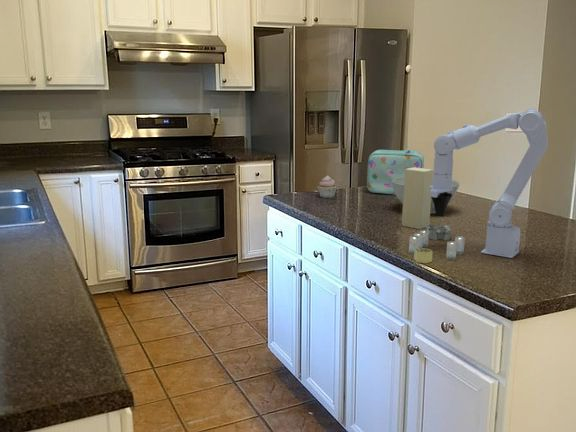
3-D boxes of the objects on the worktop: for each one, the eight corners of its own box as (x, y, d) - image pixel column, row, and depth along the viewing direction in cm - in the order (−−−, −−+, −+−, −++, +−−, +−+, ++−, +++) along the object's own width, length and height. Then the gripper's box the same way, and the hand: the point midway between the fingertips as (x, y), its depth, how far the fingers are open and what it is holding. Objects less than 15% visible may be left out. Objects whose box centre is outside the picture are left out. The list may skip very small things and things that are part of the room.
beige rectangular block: (431, 225, 209) (434, 169, 204) (420, 229, 204) (423, 171, 199) (411, 222, 214) (414, 166, 210) (401, 225, 209) (404, 169, 204)
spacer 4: (457, 258, 171) (458, 242, 169) (453, 260, 168) (455, 244, 167) (448, 256, 172) (449, 240, 171) (444, 258, 170) (445, 242, 169)
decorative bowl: (455, 220, 218) (457, 189, 215) (385, 215, 226) (386, 184, 223) (458, 206, 242) (460, 178, 240) (395, 202, 251) (396, 174, 248)
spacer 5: (464, 252, 176) (466, 237, 175) (461, 254, 174) (463, 239, 173) (456, 251, 178) (457, 235, 177) (452, 253, 175) (454, 237, 174)
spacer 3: (429, 245, 184) (430, 230, 183) (425, 247, 181) (426, 232, 180) (420, 244, 185) (421, 229, 184) (417, 246, 183) (418, 231, 182)
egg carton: (424, 232, 201) (425, 221, 200) (446, 233, 200) (447, 222, 199) (428, 240, 190) (429, 228, 190) (451, 241, 190) (452, 229, 189)
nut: (433, 259, 169) (434, 249, 168) (430, 264, 165) (431, 253, 164) (415, 257, 171) (416, 247, 171) (412, 261, 167) (412, 251, 167)
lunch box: (425, 193, 270) (428, 148, 266) (423, 197, 261) (426, 150, 256) (369, 190, 278) (371, 146, 274) (365, 194, 269) (367, 148, 264)
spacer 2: (423, 248, 180) (424, 233, 179) (420, 250, 178) (421, 235, 177) (415, 247, 182) (416, 232, 181) (411, 249, 179) (412, 234, 178)
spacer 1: (419, 252, 176) (420, 236, 175) (415, 254, 174) (416, 238, 173) (411, 251, 178) (411, 235, 177) (407, 253, 176) (408, 237, 174)
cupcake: (331, 194, 268) (331, 173, 265) (341, 198, 259) (341, 176, 257) (313, 196, 264) (313, 174, 262) (322, 199, 256) (323, 177, 253)
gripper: (438, 169, 186) (436, 210, 189) (421, 175, 175) (419, 218, 178) (460, 171, 182) (457, 213, 185) (444, 177, 171) (441, 221, 174)
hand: (440, 216), depth 181 cm, fingers closed
